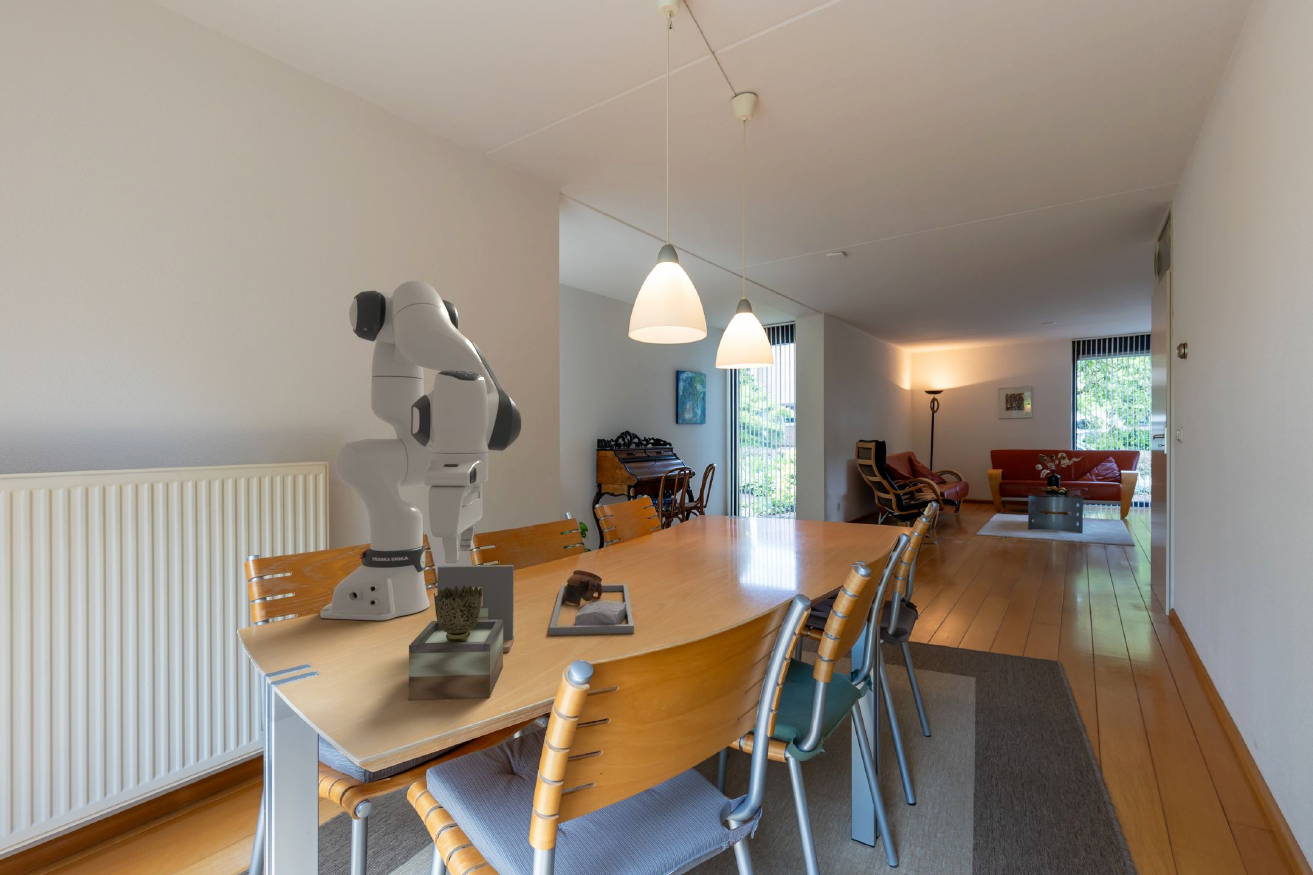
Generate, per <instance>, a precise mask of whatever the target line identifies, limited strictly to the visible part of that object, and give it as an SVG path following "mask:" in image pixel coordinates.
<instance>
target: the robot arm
mask: <svg viewBox="0 0 1313 875" xmlns="http://www.w3.org/2000/svg"><path fill="white" fill-rule="evenodd" d="M348 315H349V316H348V317H349V322H350V325H351V327H352V331H353V333H354V334H355V335H356V336H357V337H358V338H360V339H362V340H365V341H370V342H375V345H374V349H373V356H372V363H371V389H370V390H371V392H370V393H371V397H370V398H371V399H370V400H371V404H370V406H371V411H372V412H373V414H374V415H375V417H377V418H378V419H380V420H381V421H383V422H385V423H388V424H389V425H391V427H392V428H393V429H394V430H395V434H396V438H367V439H360V440H359V439H358V440H355V441H354V440H353V441H350V442H346V443H345V444H343V446H341V448H340V449H339V450H338V452H337V454H336V455H335V456H336V457H335V462H334V468H335V473H336V475H337V477H338V478H339V480H340V481H341V482H342V483H343V484H344V485H345V486H347V487H348V488H350V489H351V490H352V491H354V492H355V493H356V494H357V495H358V496H359V497H360V499H361V500H362V502H363V503H364V505H365V508H366V510H367V514H368V520H369V532H370V533H369V534H370V535H369V536H370V546H369V547H366V549H365V550H364V551H362V552H361V553H359V557H358V558H359V559H358V560H361V565H360V566H359V567H357V568H356V569H354V570H353V571H352V572H351V573H349V574H348V575H347V576H346V577H345V578H343V579H342V580H340V582H338V584H337V585H336V586H335V588H334V590H333V593H332V600H331V602H330V603H329V604H327V605H325V606H324V607H323V608H321V610H320V614H319V617H320V618H321V619H333V620H335V619H336V620H358V621H359V620H362V621H388V620H391V619H394V618H397V617H401V616H406V615H412V614H415V613H419V612H421V611H424V610H426V609H428V608H429V607H430V606H431V603H430V600H429V596H428V593H427V587H426V582H425V575H424V574H425V572H424V570H425V567H426V551H425V550H426V549H425V545H424V544H423V543H424V539H423V537H424V526H423V524H424V523H423V522H424V519H423V518H424V517H423V513H422V512H421V510H420V508H418V507H417V506H416V505H414V504H413V503H410V502H408V501H406V500H403V499H402V498H401V495H400V493H399V487H411V486H427V487H428V486H429V490H428V515H429V516H428V517H429V527H430V531H431V535H432V536H433V537H434V538H442V539H441V543H442V545H443V546H442V547H443V550H444V562H445V563H446V564H456V563H457V562H459V560H460V551H461V552H469V551H471V550H472V549H473V544H474V543H473V541H474V540H473V539H474V534H475V529H476V523H477V522H479V521H480V520H481V519H482V518H483V516H484V515H483V514H484V503H483V502H484V499H483V482H485V483H486V482H488V481H489V464H490V462H489V454H490V453H489V451H497V452H498V451H500V452H503V451H505V450H507V449H508V448H509V447H510V446H511V445H512V444H514V442H515V441H516V440H517V439H518V437H519V436H520V434H521V429H522V418H521V417H522V416H521V412H520V410H519V407H518V406H517V405H516V402H514V400H513V399H512V398H511V397H510V396H509V395H508V394H507V393H506V391H505V390H504V388H503V387H502V385H501V383H500V381H499V380H498V378H497V377H496V375H495V373H494V371H493V370H492V368H491V366H490V364H489V362H488V361H487V359H486V358H485V355H484V354H483V352H482V351H481V350H480V348H479V346H478V345H477V344H476V343H475V342H473V341H471V340H470V339H468V338H467V337H466V336H465V335H463V333H461V332H460V331H459V328H460V318H459V314H458V309H457V308H456V306H455V305H454V304H453V302H451V301H448V300H445V299H442V297H441V296H440V294H439V293H438V291H437V290H436V289H435V288H434V286H432V285H430V284H429V283H427V282H424V281H421V280H407V281H406V282H402V283H400V284H399V285H398V286H397V287H396V288H395V290H394V291H393V292H382V291H381V292H379V291H377V290H364V291H360V292H359V293H357V294H356V295H354V298H353V300H352V302H351V304H350V306H349V313H348ZM424 368H425V369H428V370H433V371H437V372H438V373H436V375H435V378H434V382H433V389H432V390H431V392H429V393H428V394H425V391H424V390H425V389H424V388H425V385H424V384H425V381H424V380H425V378H424V377H425V373H424V371H425V370H424ZM459 536H460V540H459Z"/></svg>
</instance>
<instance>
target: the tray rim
mask: <svg viewBox="0 0 1313 875" xmlns="http://www.w3.org/2000/svg"><path fill="white" fill-rule="evenodd" d="M601 585H602V592H623V598H624V602H626V620H627V624H622V623H621V624H620V625H578V626H576V625H558V622H559V618H560V614H561V608H562V605H563V593H564V592H566V588H567V584H566V585H565V584H562V585H560V587H559V588H560V589H559V592H558V595H557V598H556V603H555V606H554V609H553V613H552V616H551V620H550V624H549V628H548V629H549V630H548V632H549V634H548V635H549V636H565V635H566V636H570V635H572V636H573V635H574V636H575V635H611V634H613V635H614V634H616V635H617V634H620V635H621V634H635V623H634V617H633V616H634V615H633V611H632V605H631V600H630V594H629V587H628V583H624V584H622V583H621V584H601Z"/></svg>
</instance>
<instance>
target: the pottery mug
mask: <svg viewBox="0 0 1313 875" xmlns="http://www.w3.org/2000/svg"><path fill="white" fill-rule="evenodd" d="M566 582H567V583H566V585H567V588H566V592H564V593H563V601H562V603H563V602H564V603H565V602H567V603H569V604H573V605H577V606H580V605H581V601H582V599H583V600H584V601H585V603H586V602H590V601H592V600H593V597H594V594H595V591H597V598H601V597H602V595H603V591H602V585H603V584H602V582H603V579H602V577H601V576H599V575H598V574H596V573H594V572H589V571H586V570H581V569H579V570H578V569H577V570H574V571H573V573H572V575H571V576H570V577H569V578H568V579H567V580H566Z"/></svg>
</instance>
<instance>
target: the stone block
mask: <svg viewBox="0 0 1313 875" xmlns="http://www.w3.org/2000/svg"><path fill="white" fill-rule="evenodd" d="M625 617H627V614H626V602H625V601H624V602H619V601H613V600H600V601H599V600H598V601H596V602H595V601H593V602H589V603H587V604H585V605H584V606H583V607H581V608H580V609H579V610H578V612H577V613H576V615H575V617H574V623H575V626H578V625H622V623H623V621H624V619H625Z"/></svg>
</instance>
